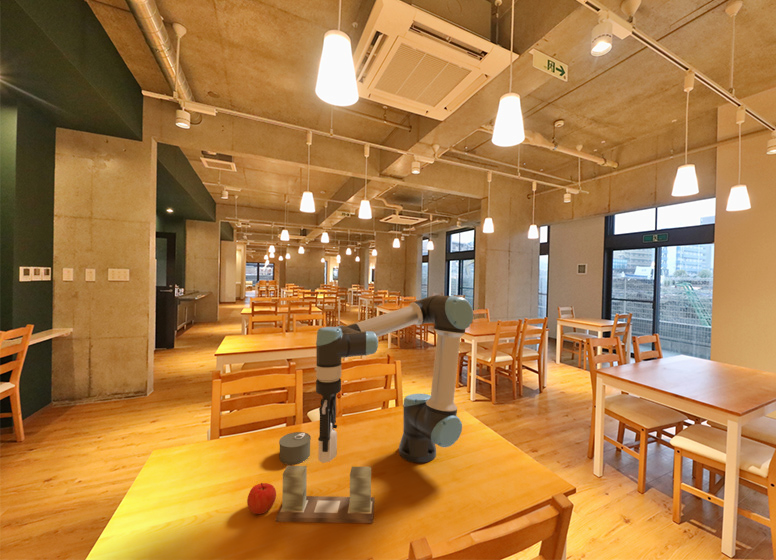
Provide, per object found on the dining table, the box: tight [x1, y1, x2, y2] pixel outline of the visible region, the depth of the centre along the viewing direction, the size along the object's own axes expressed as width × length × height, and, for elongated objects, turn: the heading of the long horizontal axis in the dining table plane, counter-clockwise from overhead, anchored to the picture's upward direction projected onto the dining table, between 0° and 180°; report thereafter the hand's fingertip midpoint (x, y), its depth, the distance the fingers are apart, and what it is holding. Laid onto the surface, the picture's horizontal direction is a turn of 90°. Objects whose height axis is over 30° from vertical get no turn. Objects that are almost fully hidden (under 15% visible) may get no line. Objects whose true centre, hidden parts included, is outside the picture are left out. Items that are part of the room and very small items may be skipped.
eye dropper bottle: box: [318, 423, 338, 463], centre depth 93 cm, size 4×6×12 cm
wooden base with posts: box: [275, 465, 375, 524], centre depth 93 cm, size 28×9×12 cm, turn 89°
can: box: [278, 431, 312, 466], centre depth 122 cm, size 12×12×7 cm
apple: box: [246, 482, 277, 515], centre depth 93 cm, size 8×8×8 cm
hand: (327, 455), depth 93 cm, fingers closed on eye dropper bottle, 5 cm apart
